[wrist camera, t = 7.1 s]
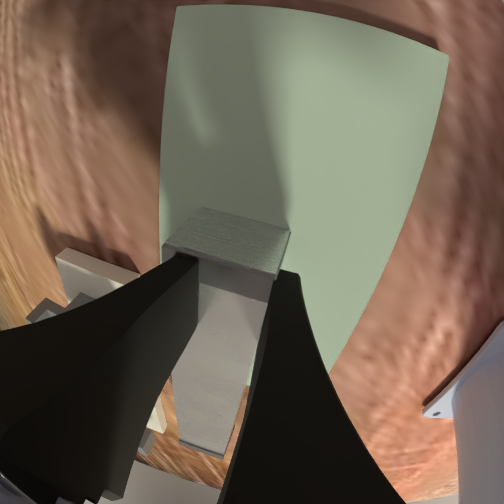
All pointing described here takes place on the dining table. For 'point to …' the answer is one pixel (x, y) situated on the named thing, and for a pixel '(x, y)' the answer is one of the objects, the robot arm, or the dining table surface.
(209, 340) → the rail
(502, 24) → the dining table surface
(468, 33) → the dining table surface
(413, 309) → the dining table surface
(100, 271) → the standards
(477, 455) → the robot arm
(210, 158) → the mat
